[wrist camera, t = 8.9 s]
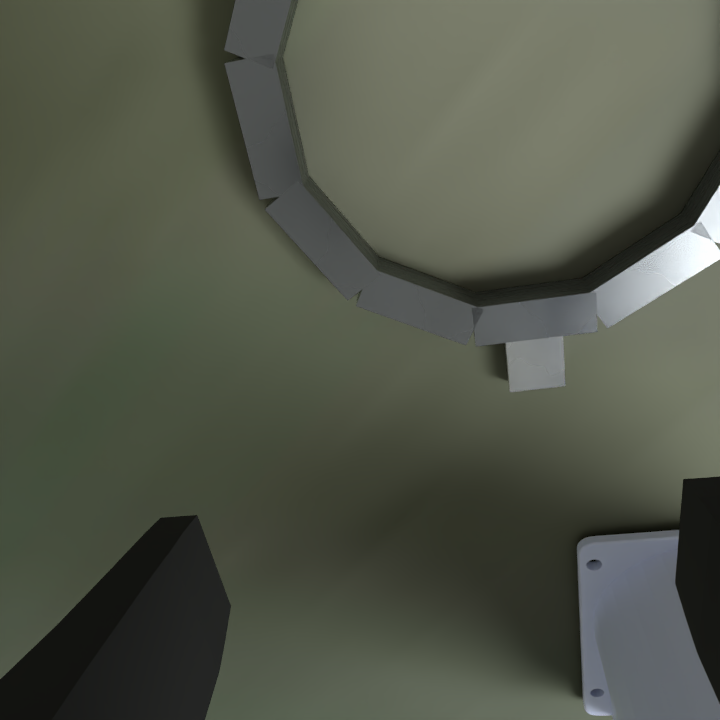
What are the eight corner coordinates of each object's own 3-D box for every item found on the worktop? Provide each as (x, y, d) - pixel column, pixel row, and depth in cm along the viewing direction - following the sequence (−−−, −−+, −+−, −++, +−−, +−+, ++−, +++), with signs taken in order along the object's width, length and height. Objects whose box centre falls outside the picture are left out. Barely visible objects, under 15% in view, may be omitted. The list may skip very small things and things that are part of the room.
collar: (772, 352, 20) (788, 369, 19) (320, 402, 22) (316, 420, 21) (881, -536, 11) (919, -578, 11) (140, -316, 14) (122, -335, 13)
